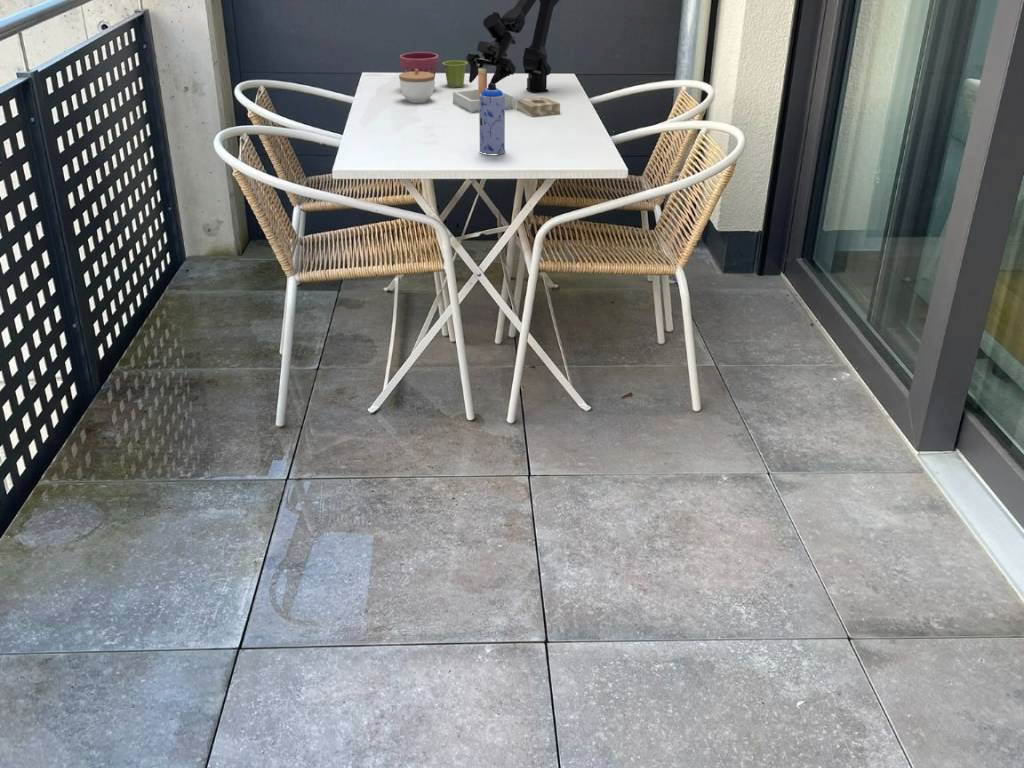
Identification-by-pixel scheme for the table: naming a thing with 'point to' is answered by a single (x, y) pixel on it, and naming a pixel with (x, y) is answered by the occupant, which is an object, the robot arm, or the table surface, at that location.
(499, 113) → the aerosol can
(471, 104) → the tray
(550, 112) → the hitch block
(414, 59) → the plant pot
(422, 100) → the lidded bowl
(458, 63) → the plant pot
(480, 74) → the pin
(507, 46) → the robot arm
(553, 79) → the table surface
